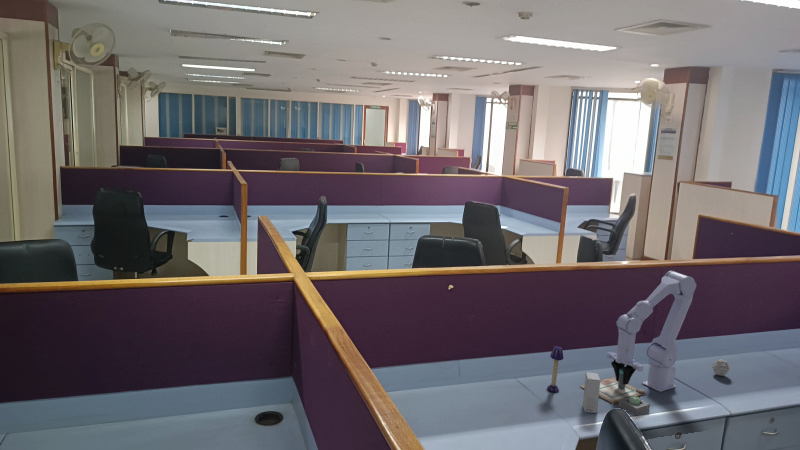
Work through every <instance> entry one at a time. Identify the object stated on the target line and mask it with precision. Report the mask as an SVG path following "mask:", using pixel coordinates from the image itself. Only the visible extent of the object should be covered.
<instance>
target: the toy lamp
mask: <svg viewBox="0 0 800 450" xmlns="http://www.w3.org/2000/svg"><path fill="white" fill-rule="evenodd" d="M550 358H551V359H552V360H553V365H552V373H551V382H550V384H549V385H547V388H546V390H547V392H549V393H553V394H555V393H559V391H560V389H559V387H558V386H557V383H556V382H557V377H558V373H559V371H558V370H559V362H560V361H562V360H564V352H563V348H562V347H561V346H558V345H555V346H554V347H553V348H552V350H551V353H550Z"/></svg>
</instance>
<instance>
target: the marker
mask: <svg viewBox="0 0 800 450" xmlns="http://www.w3.org/2000/svg"><path fill="white" fill-rule="evenodd" d="M625 386H626V385H624V384H623V369H622V368H620V369H619V380H618V388H620V389H625Z"/></svg>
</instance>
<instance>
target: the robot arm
mask: <svg viewBox="0 0 800 450" xmlns="http://www.w3.org/2000/svg"><path fill="white" fill-rule="evenodd" d="M696 288H697V283H696V281H695V278H694V277H692V276H688V275H685V274H683V273H680V272H676V271H674V270H669V271H667V272H666V273H665V274H664V276H662V277H661V281H660V284H659V285H658V286H657V287H656V288H655V289H654V290H653V291H652V292H651V294H649V296H648V297H647V298H646V299H645V300H639V301H638V302H637V303H635V305H634V306H633V307H632V308H631V309H630V310H629V311H628V312H627V313H626V314H625V313H624V314H622V315H620V316H619V317H618V319H617V321H616V322H615V323H616V324H615V325H616V326H617V329H618V330H617V332H618V339H617V349H616V352H612V351H608V352H606V358H608V359H612V360H613V361H611V366H612V368H613V371H614V374H615V375H614V376H615V378H616V381H618V380H619V369H620V368H622V369H623V384H624V385H626V384H629V383H630V380H631V378H632V376H633V374H634V373H635V371H637V372H642V371H643V370H644V365H643V364H641V363H639V362H638V361H636V360H635V359H634V355H635V347H636V344H635V343H636V335H637V333H638V332H639V331H641V328H642V325H643V322H644V321H645V320H646V319H648V317H650V316H651V314H652V313H653V312H654V307H655V306H656V305H658V303H660V302H661V301H663V299H665V298H666V297H667V296H668V295H672V296H673V297H674V300H673V302H672V305H671V308H670V310H669V313H668V315H667V318H666V319H665V322H664V324H663V327H662V329H661V332H660V334H659V336H657V337H654V338H653V339H652V340H651V342H650V344H648V346H647V348H646V357H648V361H649V366H648V375H647V380H646V381H643V382H641V383H642V385H644V386H647V387H648V388H651V389H653V390H656V391H658V392H660V393H661V392H665V391H668V390H671V389H674V388H676V385H675V384H674V383H675V377H676V368H675V364H676V361H677V355H678V352H679V350H678V347H677V345H676V343H675V342H676V340H677V337H678V335H679V333H680V330H681V328H682V325H683V323H684V321H685V318H686V316H687V313H688V310H689V308H690V306H691V305H692V302H693V299H694V297H693V296H694V293H695V290H696Z"/></svg>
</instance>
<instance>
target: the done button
mask: <svg viewBox="0 0 800 450" xmlns="http://www.w3.org/2000/svg"><path fill="white" fill-rule="evenodd" d="M640 400H641V398H640V396H638V397H637V396H630V399H629V403H631V404H633V405H635V406H636V405H639V404H640Z"/></svg>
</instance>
